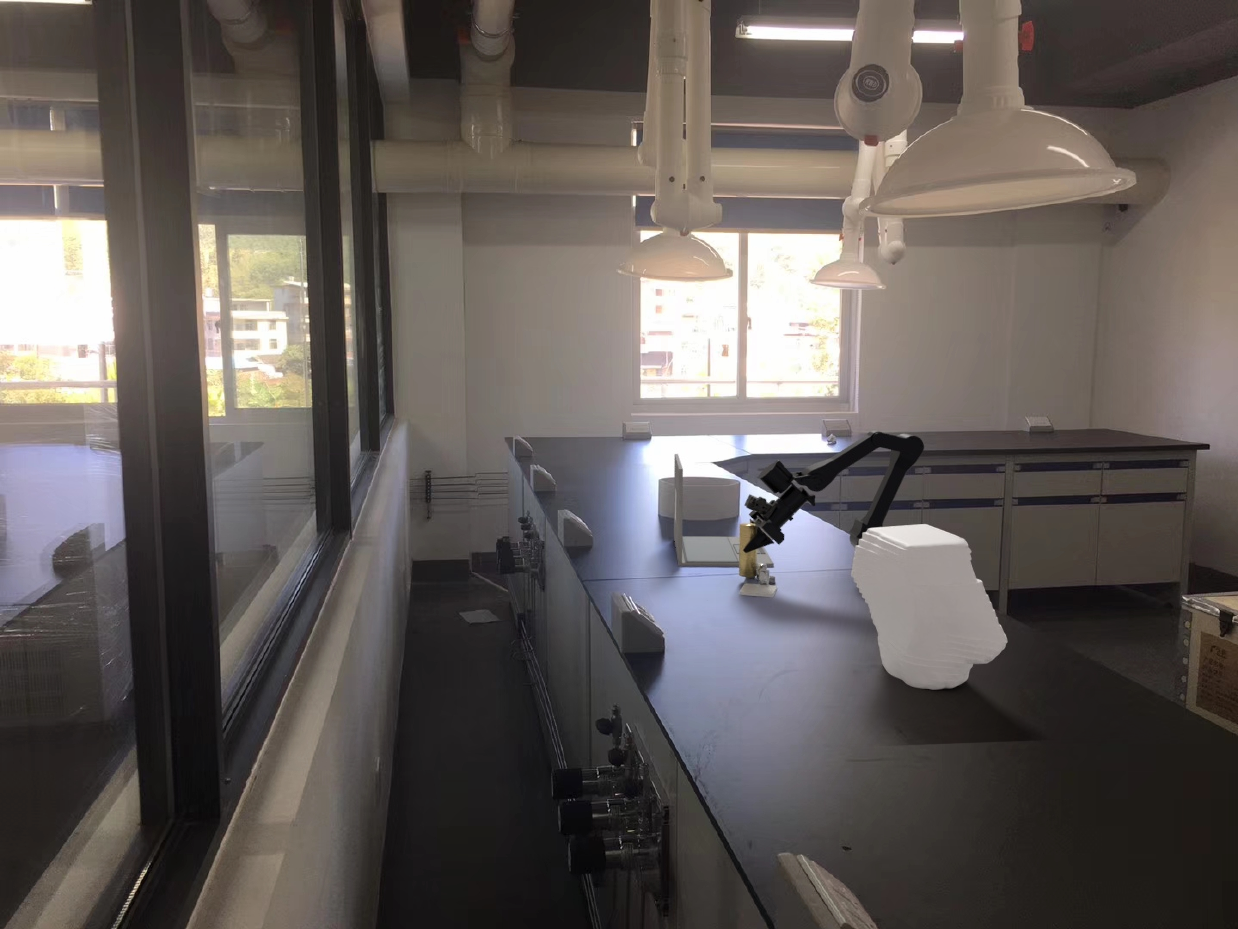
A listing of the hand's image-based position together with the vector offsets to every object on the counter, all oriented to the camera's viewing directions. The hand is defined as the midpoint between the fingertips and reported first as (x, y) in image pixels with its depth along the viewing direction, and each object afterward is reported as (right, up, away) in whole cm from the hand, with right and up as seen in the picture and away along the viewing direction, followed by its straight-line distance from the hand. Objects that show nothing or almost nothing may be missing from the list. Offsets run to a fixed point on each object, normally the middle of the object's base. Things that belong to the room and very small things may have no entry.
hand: (742, 549), depth 234 cm
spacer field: (+4, -8, +1) cm, 9 cm away
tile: (+3, -10, -8) cm, 13 cm away
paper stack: (+23, -17, -65) cm, 71 cm away
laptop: (-2, -5, +35) cm, 36 cm away
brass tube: (+1, -7, +1) cm, 7 cm away
